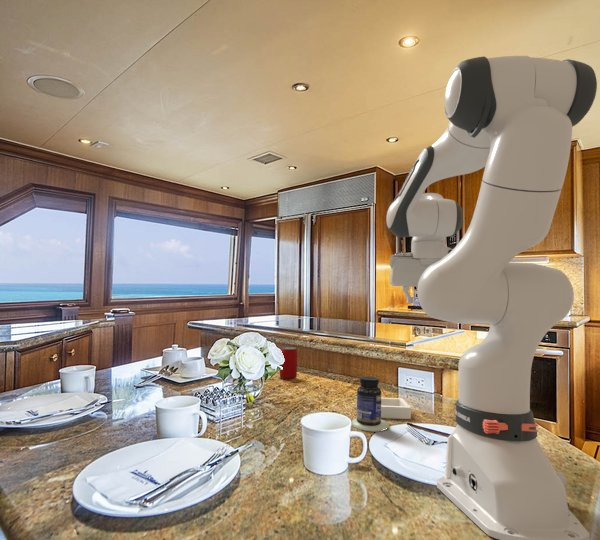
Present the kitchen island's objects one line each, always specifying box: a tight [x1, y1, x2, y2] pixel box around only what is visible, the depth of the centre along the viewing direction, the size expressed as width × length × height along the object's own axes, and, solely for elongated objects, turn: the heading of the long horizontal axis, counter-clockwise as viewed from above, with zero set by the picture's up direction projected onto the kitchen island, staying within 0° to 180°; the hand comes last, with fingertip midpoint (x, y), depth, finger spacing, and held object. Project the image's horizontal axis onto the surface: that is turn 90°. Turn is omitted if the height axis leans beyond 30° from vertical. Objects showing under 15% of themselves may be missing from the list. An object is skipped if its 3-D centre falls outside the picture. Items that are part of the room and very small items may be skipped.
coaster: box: [351, 417, 389, 433], centre depth 99 cm, size 9×9×1 cm
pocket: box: [381, 396, 412, 420], centre depth 110 cm, size 10×10×3 cm
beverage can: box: [279, 346, 298, 380], centre depth 154 cm, size 7×7×12 cm
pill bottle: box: [356, 376, 382, 426], centre depth 99 cm, size 6×6×11 cm
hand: (427, 303), depth 106 cm, fingers open, 8 cm apart
